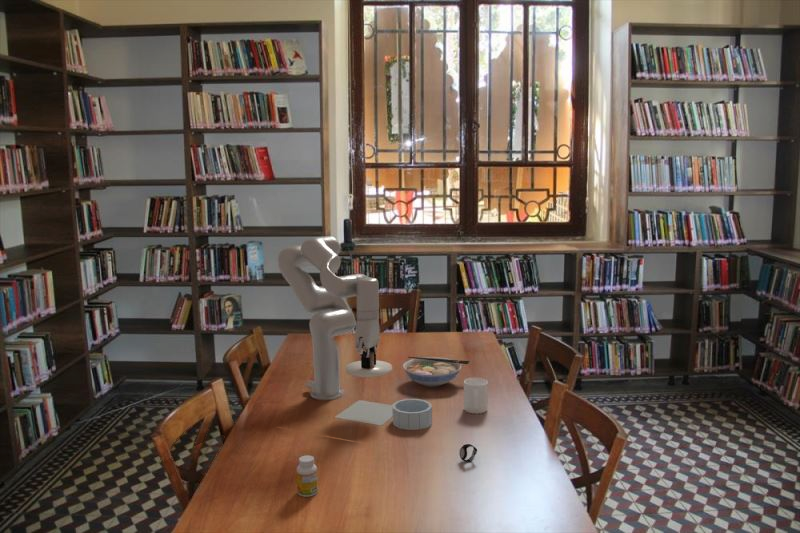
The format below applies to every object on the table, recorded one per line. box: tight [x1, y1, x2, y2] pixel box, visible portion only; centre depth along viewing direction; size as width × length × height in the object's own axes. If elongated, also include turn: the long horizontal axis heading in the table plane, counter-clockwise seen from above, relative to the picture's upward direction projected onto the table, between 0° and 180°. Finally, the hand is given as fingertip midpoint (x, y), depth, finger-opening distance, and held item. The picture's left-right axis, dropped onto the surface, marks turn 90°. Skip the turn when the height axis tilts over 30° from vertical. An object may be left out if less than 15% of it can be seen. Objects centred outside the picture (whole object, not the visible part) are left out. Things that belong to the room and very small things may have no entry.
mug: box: [463, 377, 489, 415], centre depth 243 cm, size 12×8×10 cm
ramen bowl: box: [402, 356, 470, 388], centre depth 273 cm, size 25×23×8 cm
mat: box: [333, 399, 392, 427], centre depth 244 cm, size 18×18×1 cm
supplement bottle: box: [296, 454, 319, 498], centre depth 188 cm, size 5×5×10 cm
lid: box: [344, 352, 393, 379], centre depth 241 cm, size 16×16×6 cm
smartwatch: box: [459, 443, 478, 463], centre depth 205 cm, size 4×5×5 cm
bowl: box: [391, 398, 433, 431], centre depth 234 cm, size 13×13×6 cm
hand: (368, 365), depth 241 cm, fingers closed on lid, 3 cm apart
